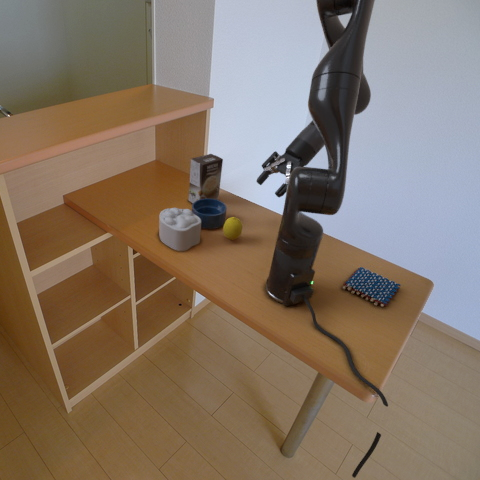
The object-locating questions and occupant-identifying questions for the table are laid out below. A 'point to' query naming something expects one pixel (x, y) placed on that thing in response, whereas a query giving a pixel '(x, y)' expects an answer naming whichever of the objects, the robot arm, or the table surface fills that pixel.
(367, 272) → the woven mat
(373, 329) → the table surface
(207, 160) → the coffee box
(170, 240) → the paw print block
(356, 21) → the robot arm
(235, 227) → the lemon
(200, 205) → the bowl
